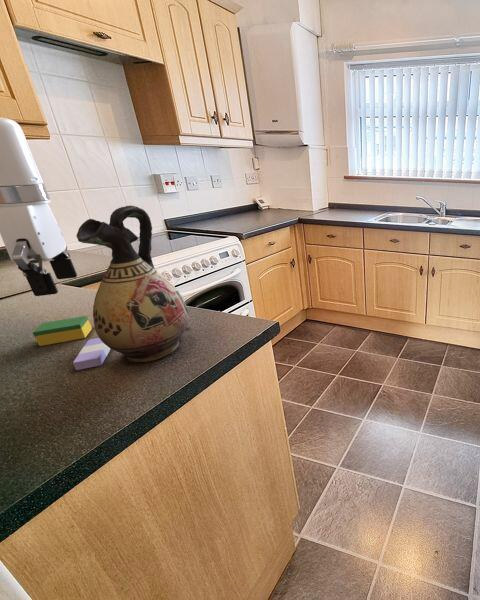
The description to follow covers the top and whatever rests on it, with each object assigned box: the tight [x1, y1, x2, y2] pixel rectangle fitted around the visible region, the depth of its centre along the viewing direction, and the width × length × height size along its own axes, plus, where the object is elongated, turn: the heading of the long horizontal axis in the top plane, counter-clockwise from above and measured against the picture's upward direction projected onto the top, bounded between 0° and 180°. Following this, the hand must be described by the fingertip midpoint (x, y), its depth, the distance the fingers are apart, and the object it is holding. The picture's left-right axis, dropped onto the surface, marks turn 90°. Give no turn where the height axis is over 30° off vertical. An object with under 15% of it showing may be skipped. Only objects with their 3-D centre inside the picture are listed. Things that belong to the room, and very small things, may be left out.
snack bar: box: [72, 337, 112, 371], centre depth 70 cm, size 10×4×2 cm, turn 26°
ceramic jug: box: [76, 205, 190, 363], centre depth 67 cm, size 17×15×30 cm
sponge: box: [32, 315, 93, 347], centre depth 77 cm, size 8×5×4 cm, turn 116°
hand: (58, 285), depth 66 cm, fingers open, 9 cm apart
